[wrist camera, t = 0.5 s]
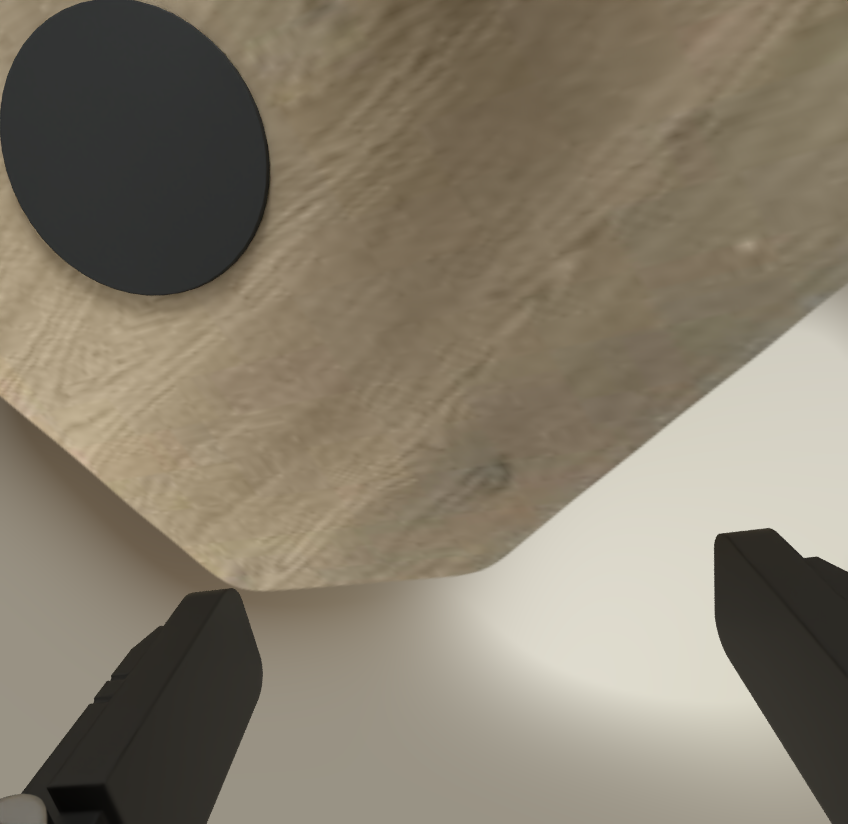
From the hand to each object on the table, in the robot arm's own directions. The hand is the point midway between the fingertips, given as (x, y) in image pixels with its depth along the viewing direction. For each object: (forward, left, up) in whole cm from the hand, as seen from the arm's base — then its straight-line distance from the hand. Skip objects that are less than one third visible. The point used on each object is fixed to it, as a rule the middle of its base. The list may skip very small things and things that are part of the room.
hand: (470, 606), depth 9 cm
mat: (-12, -19, -28) cm, 35 cm away
